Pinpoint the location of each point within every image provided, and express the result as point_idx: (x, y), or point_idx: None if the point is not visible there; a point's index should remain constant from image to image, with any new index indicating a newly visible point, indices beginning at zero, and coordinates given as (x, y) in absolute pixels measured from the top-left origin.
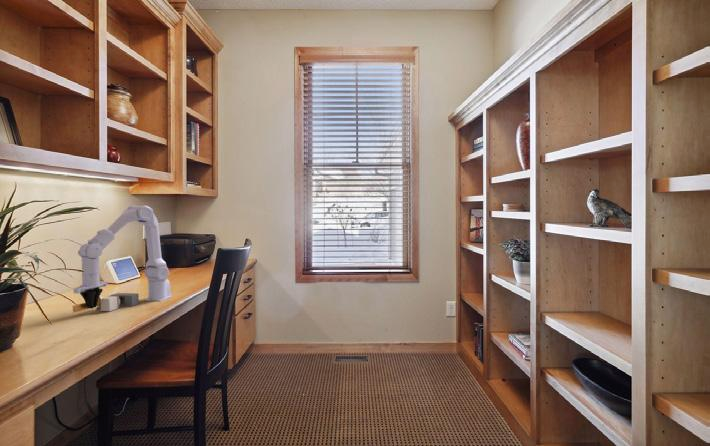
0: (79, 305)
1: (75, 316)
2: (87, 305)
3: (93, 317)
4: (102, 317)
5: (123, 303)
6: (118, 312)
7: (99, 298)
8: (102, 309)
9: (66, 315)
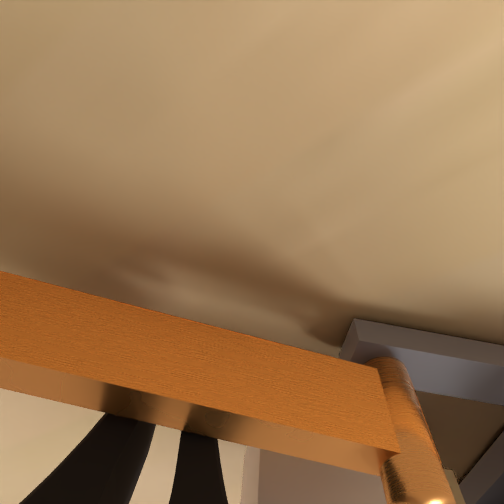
0: (2, 373)
1: (57, 235)
2: None
3: (63, 406)
4: None
5: (493, 495)
6: (237, 492)
7: (385, 491)
8: None
9: (76, 71)
